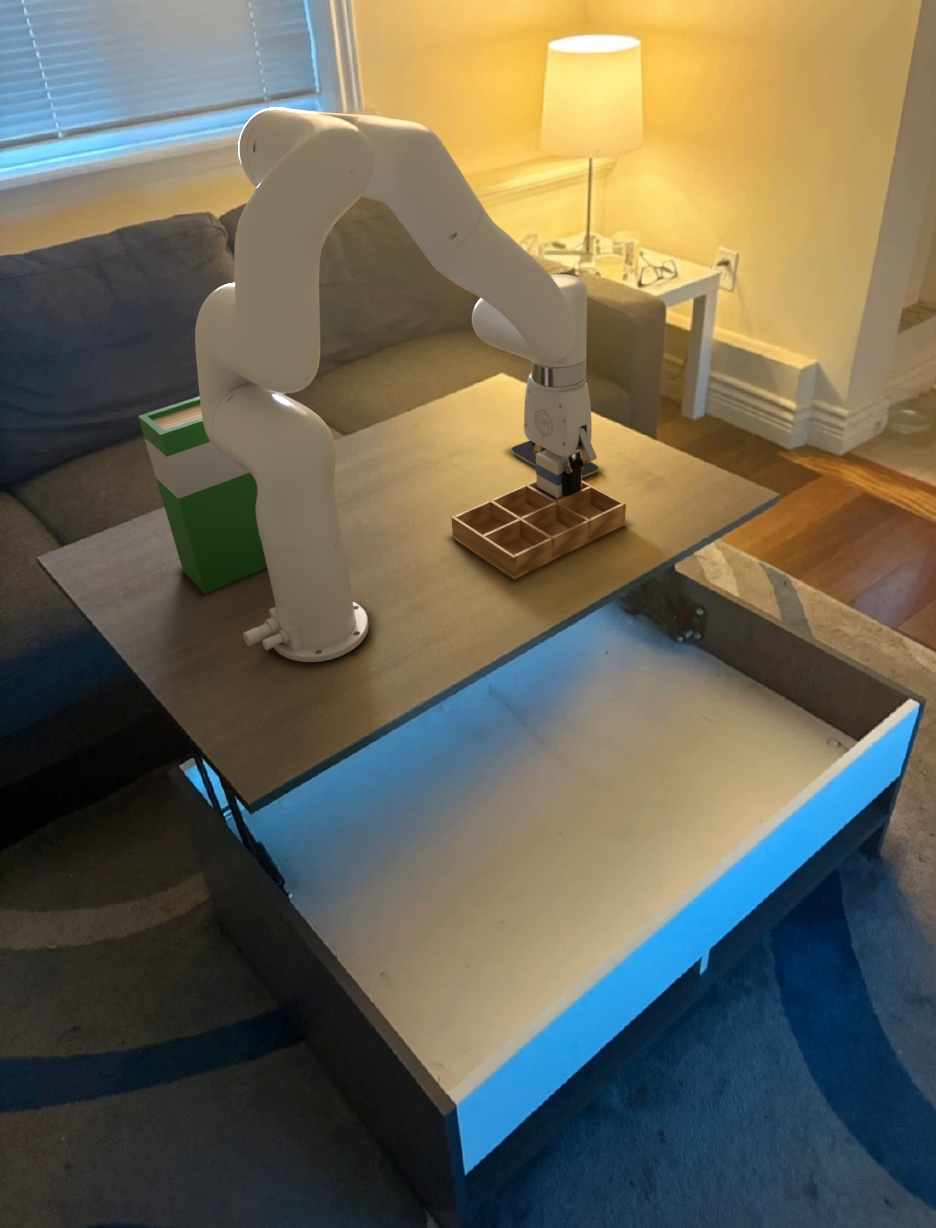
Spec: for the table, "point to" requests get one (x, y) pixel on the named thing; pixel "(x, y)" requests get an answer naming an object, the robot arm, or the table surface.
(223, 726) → the table surface
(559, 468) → the milk carton
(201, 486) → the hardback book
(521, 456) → the smartphone
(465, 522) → the compartment tray
